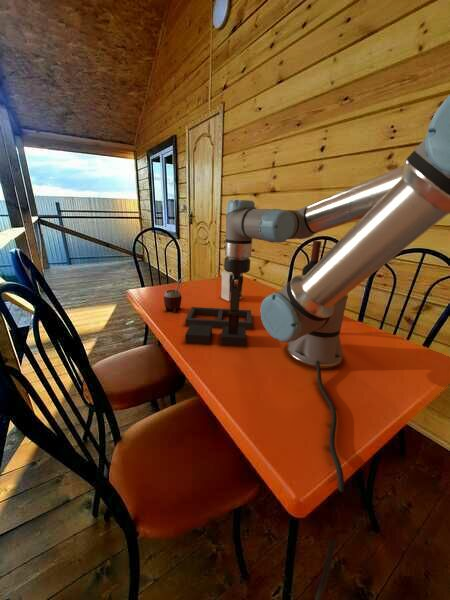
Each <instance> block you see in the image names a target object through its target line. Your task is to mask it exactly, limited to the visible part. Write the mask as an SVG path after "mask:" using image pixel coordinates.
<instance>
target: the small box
mask: <svg viewBox="0 0 450 600" xmlns="http://www.w3.org/2000/svg"><path fill="white" fill-rule="evenodd" d="M232 275H233V273H232V272H227V271H225V270H223V271H221V293H220V294H221V295H220V296H221V297H220V298H221V299H223V300H225V301H227V302H231V292H230V283H229V280H230V276H232ZM240 276H243V277H244V273H241V274H240ZM243 284H244V283H243ZM243 284H242V287H243ZM240 294H241V297H240V300H241V299H243V290H242V291H241V293H240Z"/></svg>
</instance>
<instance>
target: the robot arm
mask: <svg viewBox="0 0 450 600" xmlns="http://www.w3.org/2000/svg"><path fill="white" fill-rule="evenodd" d="M448 215H450V94H449V95H448V96H447V97H446V98H445V100H443V101H442V103H441V105H440V106H439V107H438V109H437V110H436V112H434V114H433V117H432V118H431V120H430V122H429V125H428V128H427V131H426V135H425V138H424V139H423V140H422V142H420V143H419V145H418V146H417V147H416V148H415V149H414V150H413V151H412V152H411V153H410V154H409V155H408V157H406V158H405V160H404V161H403V165H402V166H399V167H396V168H394V169H392V170H390V171H387V172H384V173H382V174H379V175H377V176H374V177H372V178H370V179H368V180H365V181H363V182H361V183H358V184H356V185H353V186H351V187H349V188H346V189H344V190H342V191H339V192H336V193H334V194H332V195H330V196H328V197H325V198H322V199H320V200H317V201H316V202H313V203H311V204H308V205H306V206H304V207H301V208H299V209H296V210H295V209H280V208H277V209H276V208H256V206H255V201H253V200H250V199H249V200H248V199H230V200H228V202H227V205H226V213H225V243H224V244H223V245H222V248H223V249H224V256H225V257H224V260H223V261H224V264H223V269H224V271H227V272H232V273H233V275H232V276H230V280H229V283H230V292H231V301H229V302H230V304H229V309H230V311H229V312H227V314H229V316H228V320H229V330H228V334H231V335H238V321H240V320H239V319H240V317H239V310H240V300H241V299H240V297H241V294H240V293H241V291H242V292H243V286H242V284H244V275H243V276H240V274H241V273H243V274H246V273H249V272H250V270H251V259H250V258H251V257H252V247H253V239H254V240H259V241H265V242H268V243H279V244H280V243H281V244H282V243H285V242H286V241H288V240H305V239H308V238H312V237H313V236H314V235H316V234H318V233H322V232H324V231H328V230H331V229H333V228H337V227H341V226H343V225H347V224H350V223H354V222H356V221H357V222H356V223H355V224H354V225H353V226H352V227H351V228H350V229H349V231H347V233H345V234H344V236H342V237H341V238H340V239H339V240H338V242H336V244H334V246H333V247H331V248H330V249H329V251H327V252H326V254H325V255H323V256H322V258H321V259H320V260H318V263H317V264H316V265H315V266H314V267H313V268H312V269H311V270H310V271H309V272H308V273H307V274H306V275H302V274H297V275H294V277H292V278H291V279H290V280H289V281H288V282H287V283H286V285H284V286H283V287H282V288H281V289H280V291H278V292H272V293H270V294H268V295H266V297H265V298H264V299H263V300H262V302H261V303H260V308H259V311H260V320H261V323H262V326H263V327H264V328H265V331H266V332H267V333H268V334H269V336H271V338H273V339H274V340H276V341H279V342H281V343H287V349H286V351H287V354H288V356H289V357H290V358H291V359H292V360H294V361H295V362H296V363H298V364H301V365H303V366H305V367H309V368H313V369H316V374H317V375H316V376H317V383H318V387H319V390H320V391H321V393H322V395H323V397H324V398H325V400H326V402H327V403H328V406H329V408H330V412H331V425H330V430H329V431H330V432H329V450H330V454H331V458H332V460H333V463H334V466H335V471H336V477H337V489H338V491H339V492H340V493H345V480H344V479H345V478H344V472H343V468H342V464H341V461H340V459H339V456H338V453H337V450H336V446H335V445H336V444H335V441H336V439H335V438H336V437H335V436H336V431H337V423H338V418H337V411H336V408H335V405H334V403H333V401H332V399H331V398H330V396H329V395H328V393H327V392H326V390H325V387H324V385H323V382H322V381H323V380H322V371H321V370H329V369H334V368H338V367H339V366H340V365H341V363H342V359H343V349H342V343H341V337H340V335H341V330H342V325H343V320H344V317H345V316H344V315H345V311H346V306H347V301H348V299H349V293H350V292H351V291H353V290H354V289H356V288H357V287H358V286H359V285H360V284H361V283H363V282H365V280H366V279H368V278H370V276H372V275H373V274H374V273H375V272H376V271H378V270H379V269H381V268H382V267H384V265H386V264H387V263H388V262H390V261H391V260H392V259H393V258H394V257H396V256H397V255H399V254H400V253H402V251H403V250H405V249H406V248H407V247H409V246H410V245H411V244H413V243H414V242H415V241H416V240H417V239H419V238H420V237H421V236H423V235H424V234H425V233H427V232H428V231H429V230H430V229H432V227H434V226H436V225H437V224H438V223H439V222H441V221H442V220H443V219H445V218H446V217H447V216H448ZM336 544H337V539H334V538H329V543H328V548H327V552H326V557H325V562H324V566H323V570H322V574H321V577H320V581H319V584H318V588H317V591H316V594H315V597H314V600H322V597H323V595H324V590H325V587H326V584H327V581H328V579H329V578H328V577H329V574H330V570H331V566H332V562H333V557H334V553H335V548H336Z"/></svg>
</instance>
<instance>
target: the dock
mask: <svg viewBox="0 0 450 600" xmlns="http://www.w3.org/2000/svg"><path fill="white" fill-rule="evenodd" d="M229 311H230V308H217V307H216V308H215V307H199V306H198V307H196V306H192V307H191V308H190V310H189V311H188V314H187V316H186V318H185V327H189V326H190V325H207V326H212V328H218V329H223V326H225V327H229V319H223V317H229V314H227V312H229ZM196 315H199V316H200V315H201V316H217V317H216V319H215V318H213V319H212V318H194V317H195V316H196ZM239 318H246V320H239V321H238V327H243V328H245V330H250V331H251V330H253V316H252V310H251V309H239Z"/></svg>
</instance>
